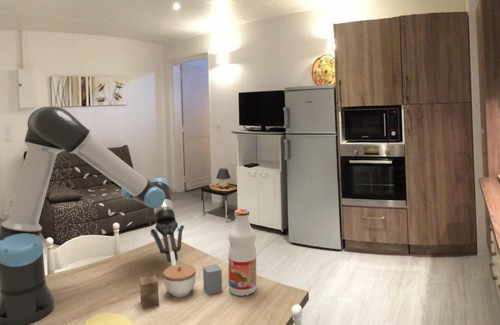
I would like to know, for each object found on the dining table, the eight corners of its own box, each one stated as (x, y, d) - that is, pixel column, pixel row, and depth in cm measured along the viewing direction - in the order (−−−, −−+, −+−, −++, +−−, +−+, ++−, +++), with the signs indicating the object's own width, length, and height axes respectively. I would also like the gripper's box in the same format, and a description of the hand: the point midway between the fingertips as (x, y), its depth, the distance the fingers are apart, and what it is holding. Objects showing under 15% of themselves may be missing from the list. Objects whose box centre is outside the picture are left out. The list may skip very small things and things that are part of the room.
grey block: (207, 295, 118) (207, 272, 117) (203, 288, 123) (203, 266, 122) (222, 292, 120) (221, 269, 119) (217, 285, 125) (216, 264, 123)
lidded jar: (201, 294, 119) (201, 267, 117) (171, 304, 113) (170, 276, 111) (188, 281, 127) (187, 257, 126) (159, 290, 121) (158, 264, 120)
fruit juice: (261, 292, 120) (261, 212, 116) (237, 299, 115) (235, 216, 111) (247, 280, 128) (247, 205, 124) (224, 287, 123) (222, 209, 119)
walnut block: (142, 309, 110) (141, 285, 109) (140, 301, 114) (139, 278, 113) (159, 305, 112) (157, 281, 111) (156, 298, 116) (155, 275, 115)
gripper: (179, 215, 147) (190, 270, 134) (147, 219, 141) (155, 276, 129) (181, 206, 141) (193, 262, 128) (148, 210, 136) (156, 268, 123)
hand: (174, 269), depth 128 cm, fingers closed
